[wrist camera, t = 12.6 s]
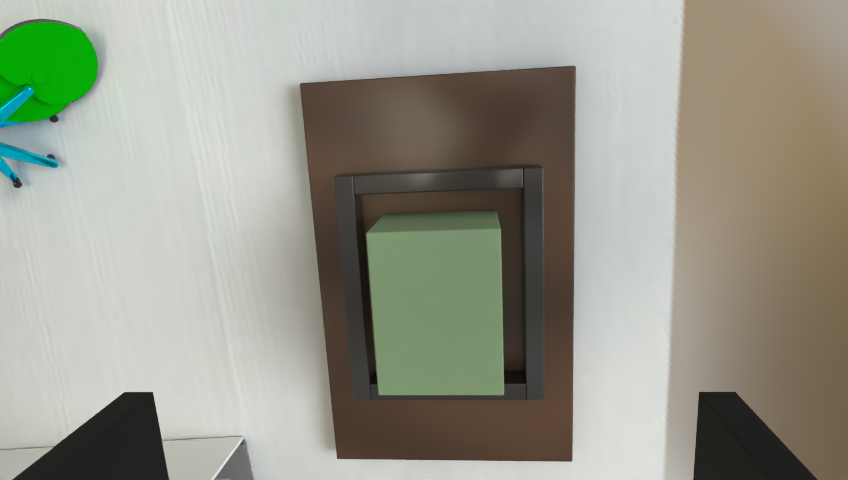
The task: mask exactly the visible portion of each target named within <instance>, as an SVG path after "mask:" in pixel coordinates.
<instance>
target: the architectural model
mask: <svg viewBox="0 0 848 480" xmlns="http://www.w3.org/2000/svg"><path fill="white" fill-rule="evenodd" d="M162 444H163V449H164V454H165V460H166V465H167V470H168V476H169V480H253V478H252V473H251V468H250V463H249V459H248V454H247V449H246V444H245V440H243V436H242V437H224V438H206V439H188V440H170V441H162ZM52 448H53V447H46V448H28V449H10V450H0V480H12V479H14V478H15V477H16V476H17V475H19V474H20V473H21V472H23V471H24V470H25V469H26V468H28V467H29V466H30V465H32V464H33V463H34V462H35V461H37V460H38V459H39V458H41V457H42V456H43V455H44V454H46V453H47V452H48V451H50V450H51V449H52Z"/></svg>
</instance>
